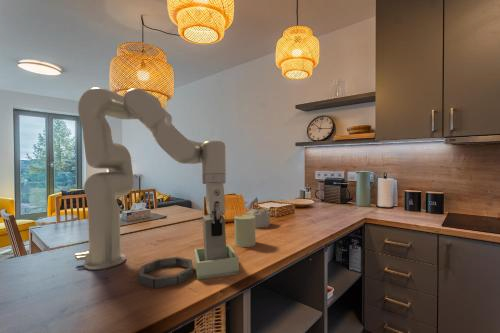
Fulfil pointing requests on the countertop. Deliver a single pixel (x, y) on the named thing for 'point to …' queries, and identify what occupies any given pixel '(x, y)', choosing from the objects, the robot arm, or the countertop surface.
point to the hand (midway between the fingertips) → (214, 231)
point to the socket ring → (165, 280)
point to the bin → (215, 264)
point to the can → (244, 230)
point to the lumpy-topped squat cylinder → (260, 217)
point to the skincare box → (213, 240)
